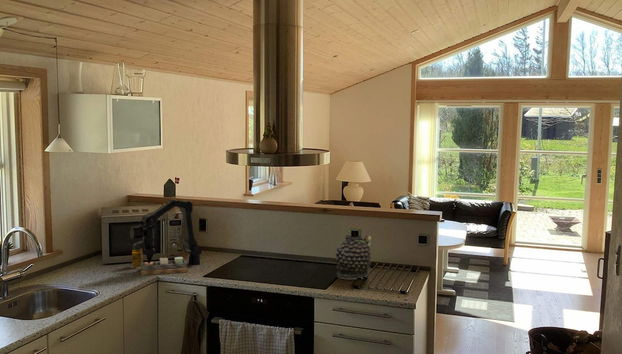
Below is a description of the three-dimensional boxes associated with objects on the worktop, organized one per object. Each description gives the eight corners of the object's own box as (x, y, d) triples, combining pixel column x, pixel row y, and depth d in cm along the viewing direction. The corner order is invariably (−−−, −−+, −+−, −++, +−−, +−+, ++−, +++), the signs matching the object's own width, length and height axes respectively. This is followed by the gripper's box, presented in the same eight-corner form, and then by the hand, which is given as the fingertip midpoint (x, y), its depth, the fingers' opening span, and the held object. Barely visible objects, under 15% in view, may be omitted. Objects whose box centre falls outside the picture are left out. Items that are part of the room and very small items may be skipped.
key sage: (182, 261, 348) (182, 256, 348) (182, 263, 344) (182, 258, 344) (174, 262, 347) (174, 257, 347) (175, 264, 343) (175, 259, 343)
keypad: (185, 266, 354) (185, 258, 354) (187, 272, 341) (187, 264, 340) (140, 269, 346) (140, 261, 346) (141, 275, 333) (141, 267, 332)
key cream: (167, 262, 346) (167, 257, 345) (168, 264, 342) (168, 259, 341) (159, 263, 344) (159, 258, 344) (160, 265, 340) (160, 260, 340)
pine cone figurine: (364, 272, 344) (365, 231, 341) (374, 279, 330) (375, 236, 327) (331, 275, 338) (331, 232, 335) (340, 282, 323) (341, 238, 321)
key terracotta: (152, 266, 343) (152, 261, 343) (153, 268, 339) (153, 263, 339) (145, 267, 342) (144, 262, 342) (145, 269, 338) (145, 264, 338)
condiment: (129, 267, 350) (128, 247, 348) (138, 264, 358) (137, 244, 356) (139, 268, 347) (139, 248, 346) (148, 265, 355) (147, 245, 354)
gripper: (133, 234, 345) (134, 260, 347) (134, 240, 327) (134, 268, 329) (153, 233, 349) (153, 259, 350) (154, 239, 331) (155, 266, 332)
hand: (149, 263), depth 340 cm, fingers closed, pressing on key terracotta
